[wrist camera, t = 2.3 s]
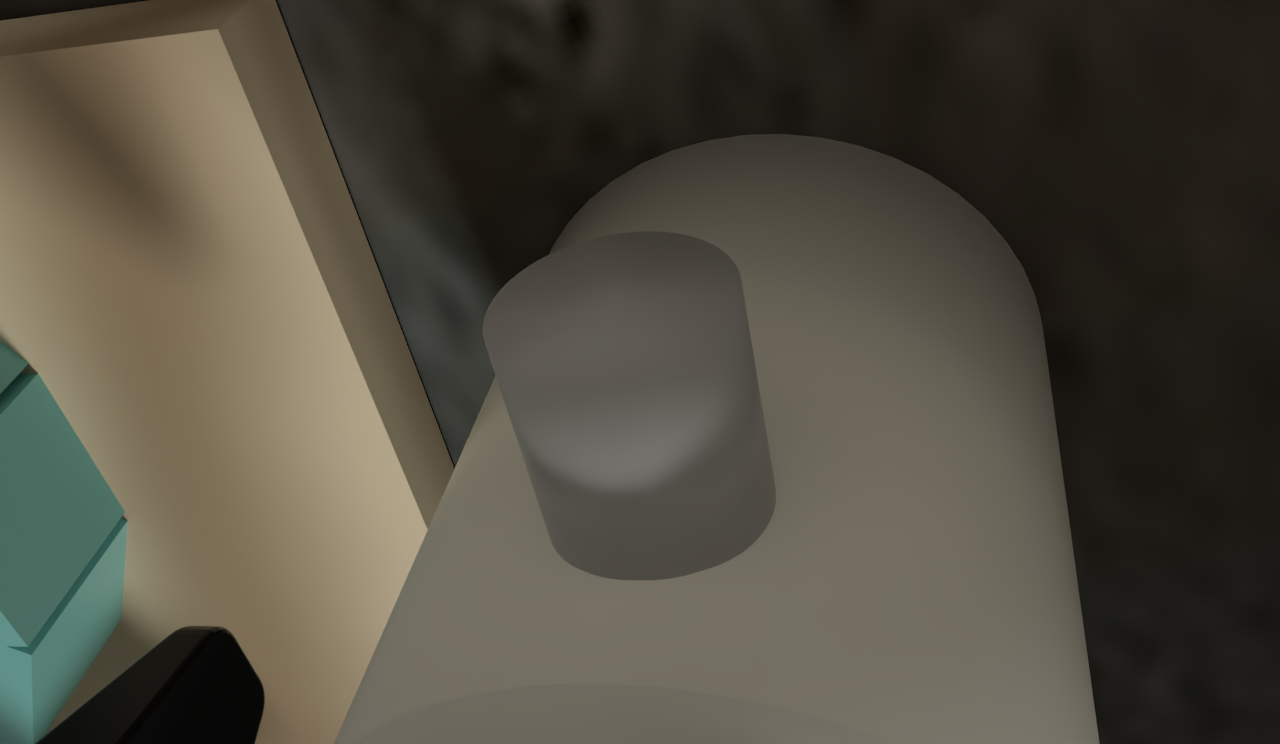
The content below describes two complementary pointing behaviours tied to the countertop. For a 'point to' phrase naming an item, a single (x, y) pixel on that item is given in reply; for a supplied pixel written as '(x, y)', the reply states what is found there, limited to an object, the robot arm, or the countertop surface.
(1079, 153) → the countertop surface
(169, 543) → the mount board
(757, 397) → the white capped canister
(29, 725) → the ring
